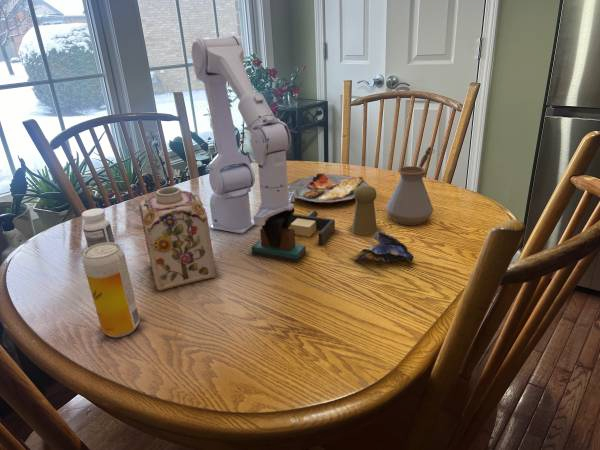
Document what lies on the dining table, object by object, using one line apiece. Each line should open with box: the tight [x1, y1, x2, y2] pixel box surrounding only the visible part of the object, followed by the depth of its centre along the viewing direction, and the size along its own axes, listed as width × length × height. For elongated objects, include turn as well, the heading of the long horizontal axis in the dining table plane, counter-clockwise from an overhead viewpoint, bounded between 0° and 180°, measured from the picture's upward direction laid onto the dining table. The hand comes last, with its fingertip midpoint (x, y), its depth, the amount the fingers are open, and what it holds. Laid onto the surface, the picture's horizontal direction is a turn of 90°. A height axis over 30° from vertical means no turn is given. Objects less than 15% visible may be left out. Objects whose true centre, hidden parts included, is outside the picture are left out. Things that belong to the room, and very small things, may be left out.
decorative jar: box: [138, 186, 217, 291], centre depth 87 cm, size 12×12×18 cm
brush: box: [251, 227, 307, 264], centre depth 95 cm, size 11×4×6 cm, turn 65°
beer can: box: [81, 242, 140, 338], centre depth 71 cm, size 6×6×15 cm
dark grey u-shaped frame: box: [289, 210, 336, 246], centre depth 107 cm, size 15×13×3 cm
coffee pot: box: [385, 146, 436, 226], centre depth 111 cm, size 21×12×15 cm, turn 149°
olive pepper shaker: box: [351, 185, 378, 237], centre depth 103 cm, size 6×6×11 cm
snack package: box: [352, 230, 414, 262], centre depth 91 cm, size 12×6×12 cm
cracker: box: [289, 218, 317, 237], centre depth 106 cm, size 5×4×2 cm
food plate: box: [288, 172, 370, 204], centre depth 129 cm, size 25×23×4 cm
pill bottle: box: [81, 207, 116, 248], centre depth 99 cm, size 6×6×10 cm
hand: (278, 242), depth 95 cm, fingers closed on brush, 2 cm apart
